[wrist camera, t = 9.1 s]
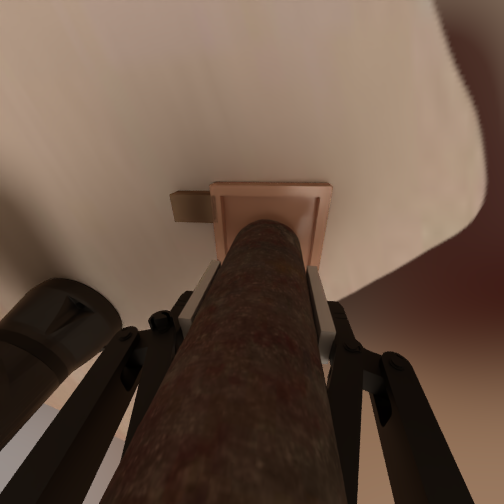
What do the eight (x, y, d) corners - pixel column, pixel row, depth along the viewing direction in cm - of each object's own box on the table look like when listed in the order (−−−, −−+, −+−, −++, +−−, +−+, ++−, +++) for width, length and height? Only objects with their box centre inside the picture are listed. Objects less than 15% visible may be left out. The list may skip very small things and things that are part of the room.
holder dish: (224, 278, 28) (220, 287, 26) (215, 182, 22) (209, 185, 20) (312, 284, 27) (314, 294, 25) (328, 182, 20) (333, 186, 19)
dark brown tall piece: (235, 210, 21) (7, 537, 3) (305, 216, 20) (463, 653, 3) (234, 270, 25) (122, 577, 7) (294, 277, 24) (332, 631, 6)
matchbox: (182, 216, 24) (175, 221, 22) (178, 190, 23) (169, 194, 21) (222, 217, 24) (217, 223, 22) (220, 191, 22) (215, 195, 20)
